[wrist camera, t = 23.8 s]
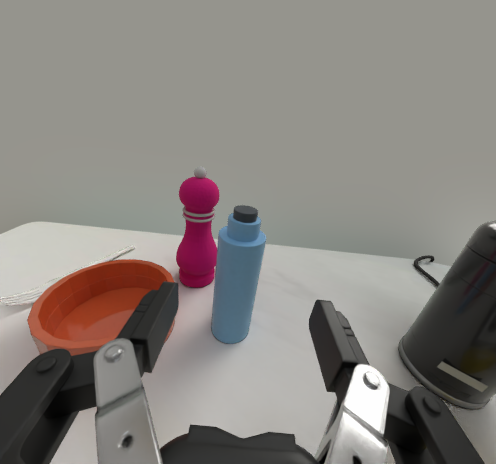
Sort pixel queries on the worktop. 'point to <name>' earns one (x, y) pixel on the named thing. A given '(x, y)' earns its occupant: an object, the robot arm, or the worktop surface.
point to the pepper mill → (198, 230)
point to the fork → (37, 292)
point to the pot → (92, 305)
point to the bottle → (237, 274)
